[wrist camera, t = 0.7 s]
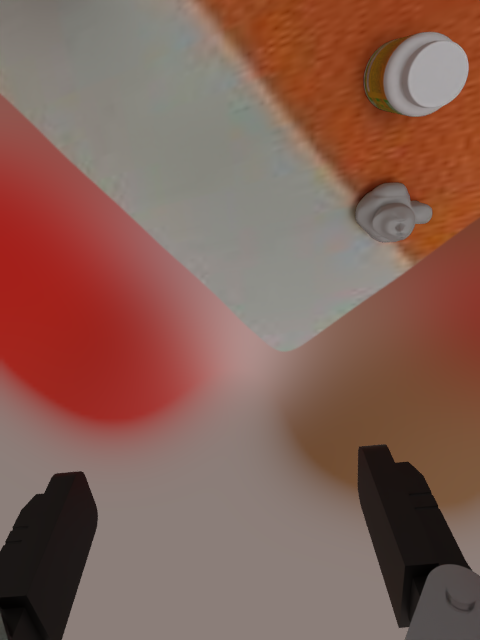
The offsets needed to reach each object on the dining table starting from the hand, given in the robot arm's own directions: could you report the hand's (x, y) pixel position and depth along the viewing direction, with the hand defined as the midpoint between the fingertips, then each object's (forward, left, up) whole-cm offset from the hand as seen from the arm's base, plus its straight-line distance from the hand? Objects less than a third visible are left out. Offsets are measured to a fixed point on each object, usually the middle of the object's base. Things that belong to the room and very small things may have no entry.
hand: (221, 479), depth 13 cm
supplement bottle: (-16, -7, -34) cm, 38 cm away
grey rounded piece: (-14, +4, -34) cm, 37 cm away
